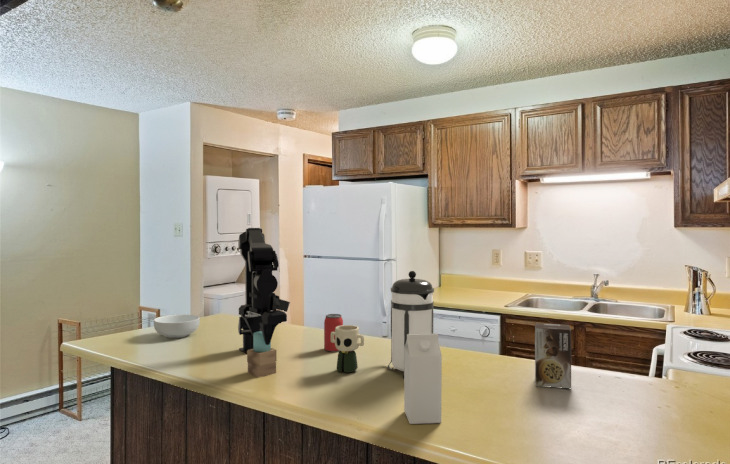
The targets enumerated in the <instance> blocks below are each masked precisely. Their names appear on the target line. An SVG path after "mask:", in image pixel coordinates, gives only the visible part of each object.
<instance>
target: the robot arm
mask: <svg viewBox="0 0 730 464" xmlns="http://www.w3.org/2000/svg"><path fill="white" fill-rule="evenodd" d="M265 238H266V237H265V234H264V233H263V229H262V228H260V227H248V228H246V229H245V231H244V232H242V233H240V234H239V236H238V241H237V242H238V243H237V247H238V249H239V251H240V256H241V257H242V259H243V260H244V267H245V268H244V270H245V271H244V276H245V278H244V280H245V281H244V282H245V284H244V286H245V288H244V289H245V290H244V291H245V293H244V294H245V304H242V305H240V306H239V308H238V316H239V317H238V326H237V328H238V331H237V332H238V334H239V335H240V336H241V335H242V347H240V348H238V351H241V352H243V353H245V354H247V350H250V349H253V333H255V332H259V331H262V334H263V338H264V341H265V344H266V345H269V344H270V342H271V343H272V338H273V336H274V332H275V330H276V328H277V326H278V325H279V324H282V323H285V322H287V321H288V313H287V312H288V309H289V306H290V304H291V302H290V301H287V300H284V299H282V298H280V296H279V295H277V294H276V293H275V291H276V290H277V288H278V284H279V283H278V279H277V277H276V276H274V274H273V272H275V271H277V272H278V269H279V260H278V259H279V258H278V254H277V253H276V251H275V250H274V248H273V246H272V245H271V244H268V243H266V239H265Z"/></svg>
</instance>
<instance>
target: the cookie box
mask: <svg viewBox="0 0 730 464" xmlns="http://www.w3.org/2000/svg"><path fill="white" fill-rule="evenodd" d="M534 384H535V385H537V386H536V387H540V386H551V387H562V388H571V389H572V329H571V327H570V324H564V323H563V324H562V323H561V324H559V323H542V322H541V323H540V322H536V323H535V324H534Z"/></svg>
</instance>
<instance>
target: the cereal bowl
mask: <svg viewBox="0 0 730 464" xmlns="http://www.w3.org/2000/svg"><path fill="white" fill-rule="evenodd" d="M200 320H201V318H200V316H199V315H196V314H169V315H168V314H167V315H162V316H159V317H156V318H154V319H153V329H154V330H155V332H157V334H159V335H162V336H164V337H166V338H167V339H181V338H186V337H187V336H188V335H190V334H192V333H194V332H196V331H197V330H198V328H199V327H200V323H201V322H200Z"/></svg>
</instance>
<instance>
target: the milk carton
mask: <svg viewBox="0 0 730 464" xmlns="http://www.w3.org/2000/svg"><path fill="white" fill-rule="evenodd" d="M442 358H443V355H442V350H441V345H440V342H439V334H438V333H433V334H407V341H406V344H405V347H404V371H403V374H404V379H403V380H404V381H403V382H404V383H403V385H404V386H403V387H404V388H403V390H404V392H403V393H404V395H403V401H404V405H403V411H404V413H405V415H406V418H407V420H408V423H409V424H410V425H413V424H414V425H418V424H441V423H442V374H443V373H442V371H443V369H442V368H443V367H442V364H443V363H442V360H443V359H442Z"/></svg>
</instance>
